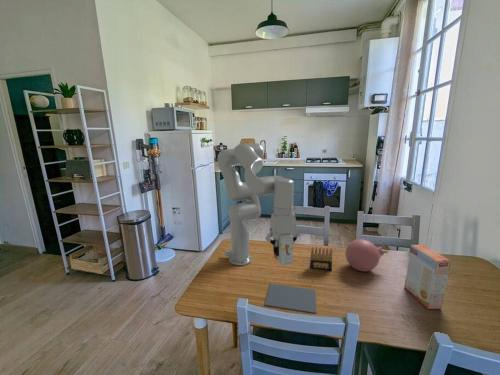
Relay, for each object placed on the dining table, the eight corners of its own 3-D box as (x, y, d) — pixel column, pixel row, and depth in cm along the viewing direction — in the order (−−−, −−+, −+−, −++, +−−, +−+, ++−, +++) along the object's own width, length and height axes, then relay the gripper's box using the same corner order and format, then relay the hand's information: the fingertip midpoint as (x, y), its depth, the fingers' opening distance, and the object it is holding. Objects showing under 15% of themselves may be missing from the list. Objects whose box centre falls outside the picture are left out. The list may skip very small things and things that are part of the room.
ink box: (273, 255, 101) (273, 229, 99) (283, 254, 103) (284, 227, 100) (281, 266, 93) (281, 237, 91) (293, 264, 95) (293, 235, 92)
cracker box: (442, 309, 93) (452, 260, 89) (427, 310, 93) (436, 261, 88) (416, 286, 107) (424, 243, 102) (403, 287, 107) (410, 244, 102)
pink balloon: (393, 278, 113) (398, 248, 110) (350, 277, 114) (353, 247, 111) (378, 261, 128) (382, 234, 125) (340, 260, 129) (342, 233, 126)
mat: (264, 305, 96) (264, 304, 96) (269, 284, 110) (270, 283, 110) (316, 313, 92) (316, 312, 92) (315, 290, 105) (315, 289, 105)
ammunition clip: (331, 269, 121) (333, 247, 119) (331, 271, 120) (333, 249, 117) (309, 267, 123) (310, 245, 121) (309, 269, 122) (310, 247, 119)
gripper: (298, 205, 99) (297, 246, 103) (259, 210, 95) (260, 252, 99) (307, 211, 92) (306, 254, 96) (266, 215, 88) (266, 261, 91)
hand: (282, 253), depth 97 cm, fingers closed on ink box, 5 cm apart
